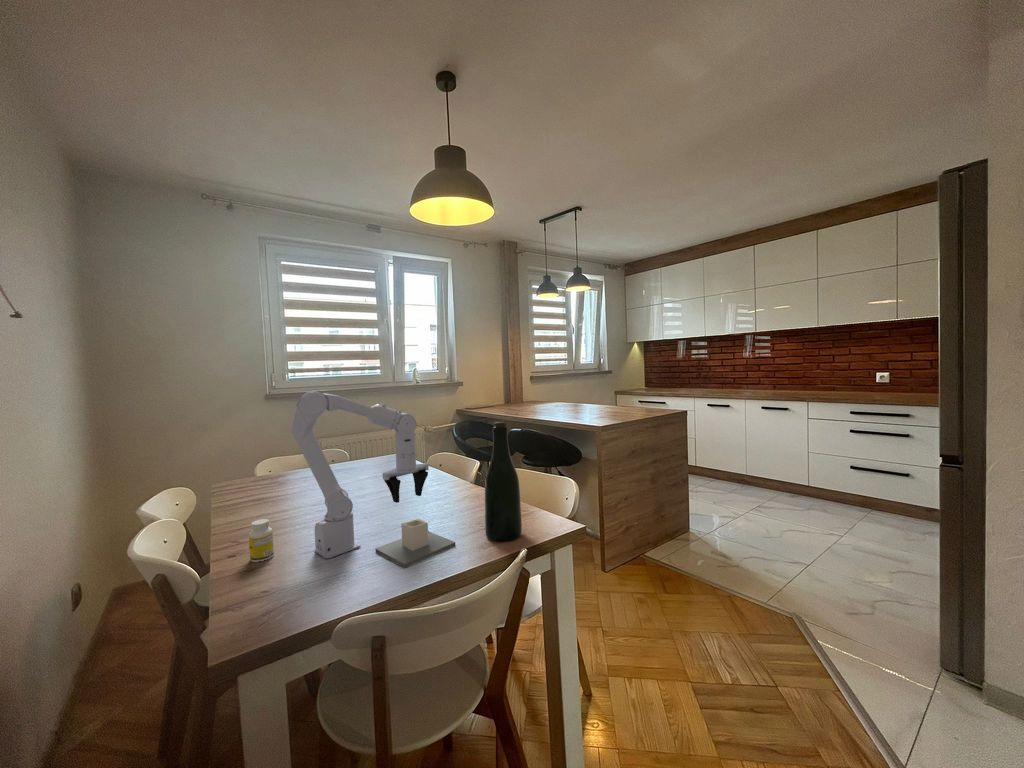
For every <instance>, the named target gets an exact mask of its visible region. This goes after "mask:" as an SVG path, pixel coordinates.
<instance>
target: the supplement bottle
mask: <svg viewBox="0 0 1024 768" xmlns="http://www.w3.org/2000/svg"><path fill="white" fill-rule="evenodd" d="M250 526H251V531H250V532H249V534H248V545H249V559H250V562H252V563H260V562H259V561H261V562H265V561H267V559H268V560H270V559H272V558H273V556H275V547H274V532H273V528H272V527H270V520H269V519H268V518H263V519H262V518H261V519H257V520H254V521H252V522H251V524H250ZM271 557H272V558H271ZM264 560H265V561H264Z"/></svg>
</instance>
